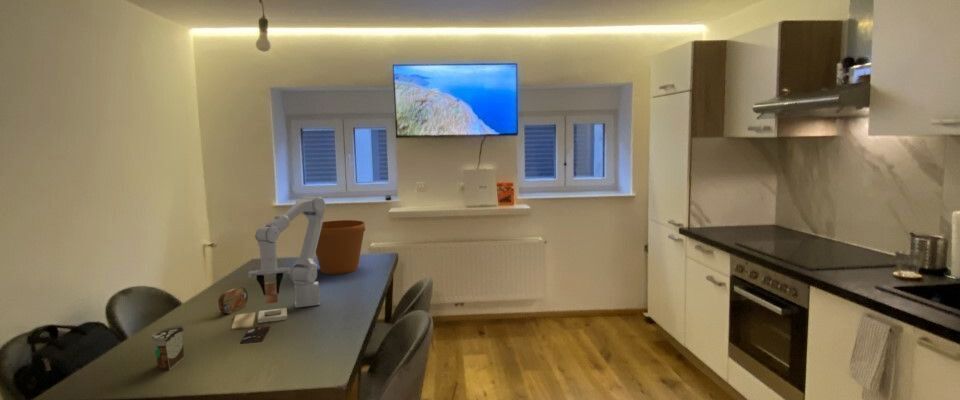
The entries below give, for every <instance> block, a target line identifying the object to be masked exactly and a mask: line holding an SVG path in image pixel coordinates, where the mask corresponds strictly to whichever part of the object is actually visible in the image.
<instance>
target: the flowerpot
mask: <svg viewBox="0 0 960 400" xmlns="http://www.w3.org/2000/svg"><path fill="white" fill-rule="evenodd" d="M365 231H366V222H365V221H363V220H356V219H355V220H354V219H353V220H352V219H343V220H339V219H337V220H328V221H327V220H326V221H323V223H322V227H321V231H320V236H319V240H318V244H317V248H316V252H315V256H316V259H317V262H318V265H319V266H318V267H319V269H320V273H322V274H327V275H336V274H337V275H338V274H346V273H347V274H348V273H351V272H354V271H356V270H359V269H358V268H359V264H360V263H359V262H360V256H361V251H362V246H363V238H364V234H365Z"/></svg>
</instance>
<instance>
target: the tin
mask: <svg viewBox="0 0 960 400" xmlns="http://www.w3.org/2000/svg"><path fill="white" fill-rule="evenodd" d="M248 299H249V294H248V291H247V289H246V288H245V287H244V286H238V287H234V288H232V289H230V290H229V289H228V290H227V291H225V292H223V293H221V294H220V296H219V298H218V301H217V303H218V308H219V309H218V310H219V311H220V312H221V313H223V314H229V315H230V313H231V314H233V313H235V312H236V311H238V310H240V309H243V308H244V307H245V306H246V305H247V302H248Z"/></svg>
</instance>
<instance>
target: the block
mask: <svg viewBox="0 0 960 400" xmlns="http://www.w3.org/2000/svg"><path fill="white" fill-rule="evenodd" d="M264 296H265V304H267V305H268V304H274V303H276V304H277V303H278V302H279V300H278V294H277V282H276V281H270V282H267V281H266V282H265V295H264Z"/></svg>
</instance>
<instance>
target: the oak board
mask: <svg viewBox="0 0 960 400" xmlns="http://www.w3.org/2000/svg"><path fill="white" fill-rule="evenodd" d="M256 314H257V312H249V313H248V312H247V313H240V314H235V317H234V319H233V323H232V325H231V328H230V329H231V330H232V331H234V330H240V329H241V330H242V329H247V328H248V329H249V328H253V327H254V324H255V318H256Z"/></svg>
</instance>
